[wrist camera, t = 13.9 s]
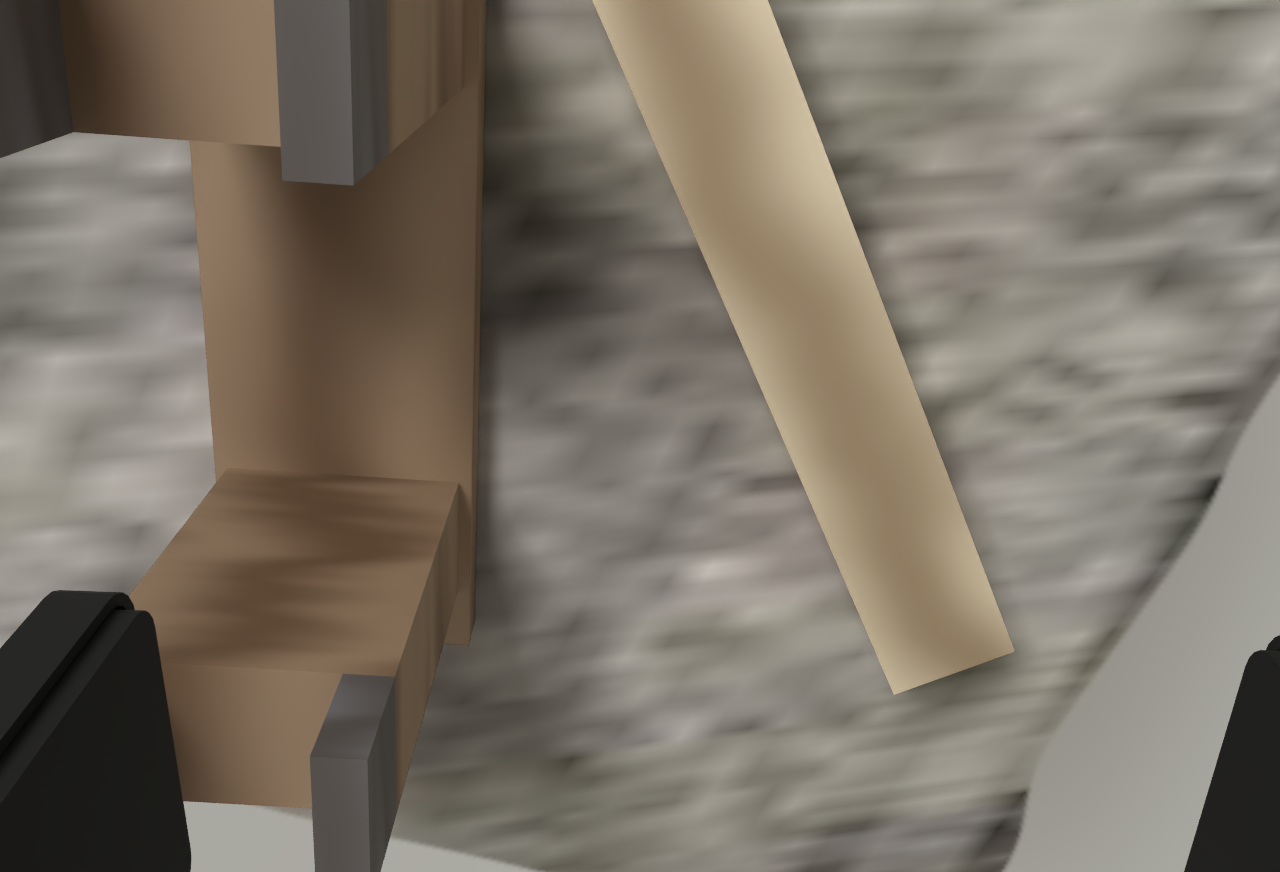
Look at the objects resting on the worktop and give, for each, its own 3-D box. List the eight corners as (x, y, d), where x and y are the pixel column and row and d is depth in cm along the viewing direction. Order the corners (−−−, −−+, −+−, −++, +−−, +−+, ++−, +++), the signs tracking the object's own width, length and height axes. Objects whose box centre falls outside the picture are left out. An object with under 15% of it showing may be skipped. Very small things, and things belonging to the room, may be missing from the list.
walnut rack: (489, -151, 31) (371, -215, 18) (474, 621, 41) (390, 973, 27) (186, -176, 31) (-174, -258, 17) (241, 607, 41) (36, 954, 27)
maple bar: (712, -116, 32) (721, -121, 28) (981, 586, 41) (1015, 651, 37) (579, -50, 33) (571, -48, 29) (871, 626, 41) (894, 695, 38)
